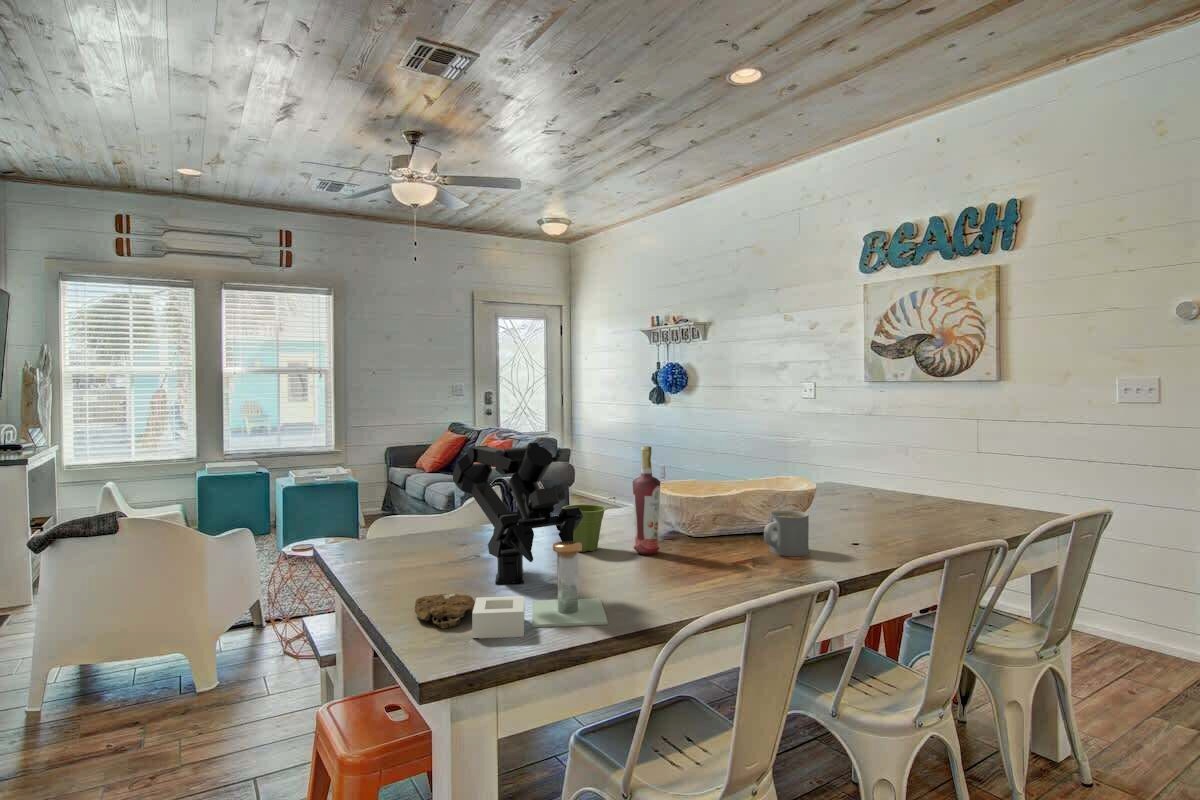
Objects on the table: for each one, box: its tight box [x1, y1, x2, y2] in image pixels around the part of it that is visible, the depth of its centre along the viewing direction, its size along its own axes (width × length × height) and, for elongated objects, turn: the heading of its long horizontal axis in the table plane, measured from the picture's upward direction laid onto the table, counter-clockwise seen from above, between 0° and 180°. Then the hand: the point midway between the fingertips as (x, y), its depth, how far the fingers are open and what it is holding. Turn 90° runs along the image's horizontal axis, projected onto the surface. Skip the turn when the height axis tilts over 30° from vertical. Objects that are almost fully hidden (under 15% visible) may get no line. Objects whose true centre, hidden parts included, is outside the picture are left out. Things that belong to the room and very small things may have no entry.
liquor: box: [632, 446, 661, 556], centre depth 182 cm, size 7×7×28 cm
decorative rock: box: [414, 593, 476, 629], centre depth 134 cm, size 11×4×15 cm
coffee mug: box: [763, 509, 810, 557], centre depth 183 cm, size 13×10×10 cm
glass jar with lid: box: [552, 540, 582, 614], centre depth 135 cm, size 6×6×13 cm
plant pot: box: [562, 503, 607, 553], centre depth 187 cm, size 12×12×11 cm
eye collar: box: [471, 595, 525, 639], centre depth 127 cm, size 9×9×4 cm
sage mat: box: [531, 597, 609, 628], centre depth 135 cm, size 14×14×1 cm
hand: (552, 557), depth 141 cm, fingers open, 9 cm apart
